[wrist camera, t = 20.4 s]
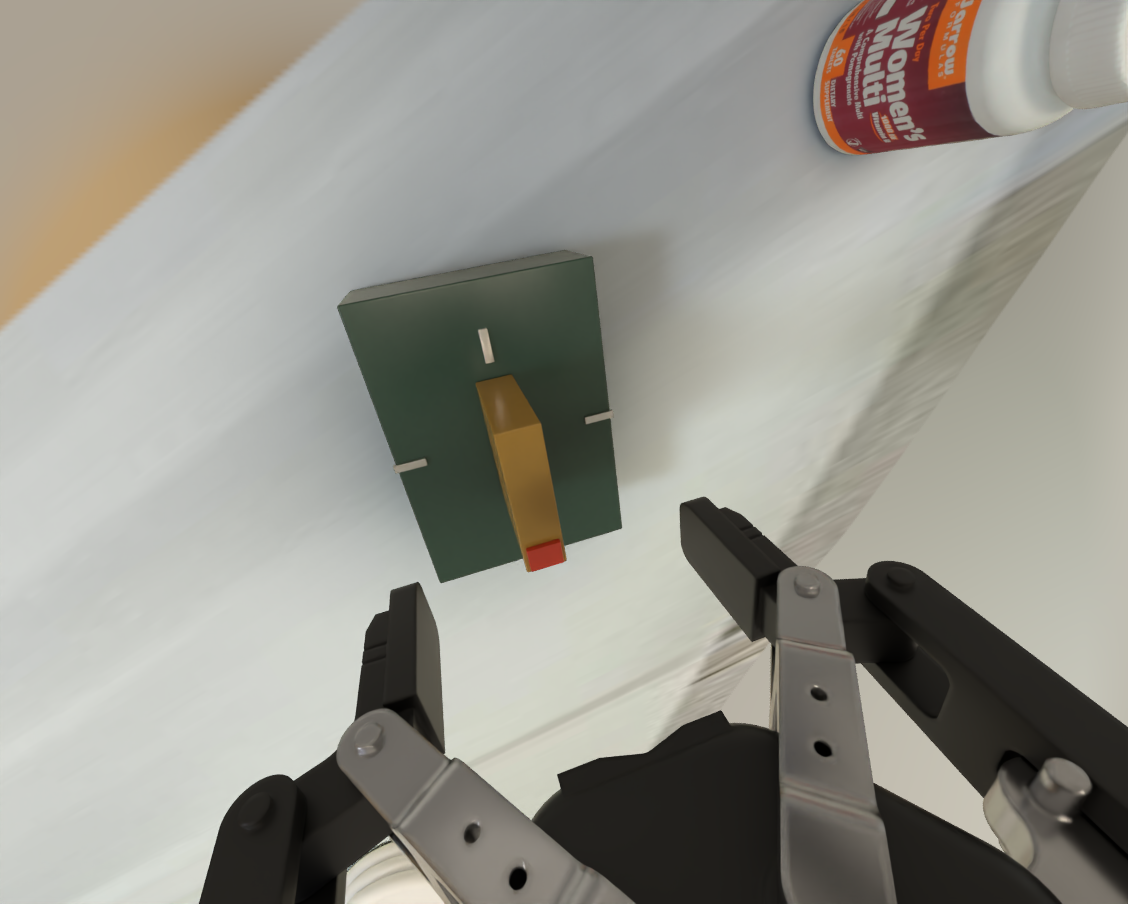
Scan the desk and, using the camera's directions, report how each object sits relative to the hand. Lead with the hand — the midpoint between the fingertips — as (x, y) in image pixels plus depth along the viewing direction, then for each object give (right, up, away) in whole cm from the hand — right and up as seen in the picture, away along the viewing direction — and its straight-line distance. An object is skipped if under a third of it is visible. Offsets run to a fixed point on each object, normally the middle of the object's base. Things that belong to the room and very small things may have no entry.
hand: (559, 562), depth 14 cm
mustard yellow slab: (-2, +4, +7) cm, 9 cm away
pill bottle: (+15, +21, +9) cm, 27 cm away
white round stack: (-14, -33, +27) cm, 45 cm away
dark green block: (-3, +6, +11) cm, 13 cm away
